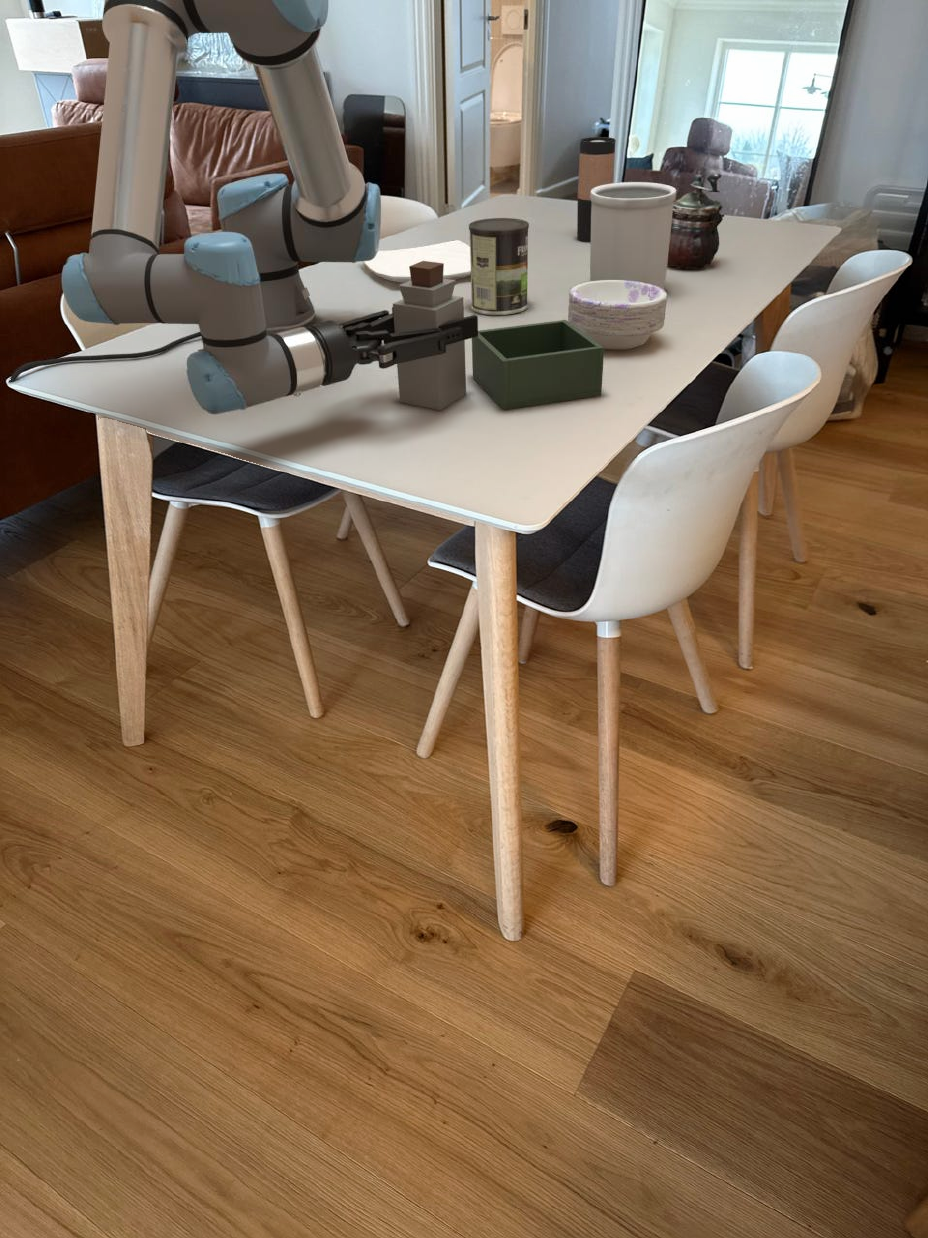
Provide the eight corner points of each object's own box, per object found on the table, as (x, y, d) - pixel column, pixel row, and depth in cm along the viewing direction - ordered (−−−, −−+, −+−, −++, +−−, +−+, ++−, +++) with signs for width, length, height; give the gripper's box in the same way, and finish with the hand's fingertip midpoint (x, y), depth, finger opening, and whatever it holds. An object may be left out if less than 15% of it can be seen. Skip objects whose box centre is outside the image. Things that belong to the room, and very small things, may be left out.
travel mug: (570, 236, 206) (574, 138, 195) (601, 233, 208) (606, 135, 196) (584, 243, 200) (588, 142, 189) (615, 240, 202) (622, 140, 190)
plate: (507, 277, 179) (507, 263, 178) (389, 293, 172) (388, 278, 171) (461, 251, 198) (461, 238, 196) (354, 264, 191) (352, 251, 189)
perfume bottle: (466, 394, 128) (462, 261, 118) (439, 410, 124) (433, 273, 113) (426, 386, 131) (419, 256, 121) (399, 401, 127) (390, 267, 116)
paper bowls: (676, 333, 147) (681, 283, 143) (641, 362, 137) (646, 309, 132) (590, 321, 154) (592, 273, 149) (551, 348, 143) (552, 296, 139)
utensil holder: (629, 308, 160) (637, 200, 150) (569, 291, 169) (573, 189, 159) (683, 291, 167) (694, 188, 157) (623, 276, 177) (629, 178, 167)
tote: (502, 410, 123) (502, 361, 119) (472, 377, 134) (471, 331, 130) (601, 395, 126) (604, 347, 122) (564, 364, 137) (565, 319, 133)
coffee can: (531, 299, 166) (532, 217, 158) (523, 316, 157) (524, 230, 149) (476, 298, 168) (474, 216, 159) (465, 314, 159) (463, 229, 151)
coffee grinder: (681, 279, 174) (692, 176, 164) (647, 261, 186) (655, 164, 176) (740, 272, 177) (754, 171, 167) (703, 255, 189) (714, 159, 178)
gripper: (279, 365, 122) (419, 330, 133) (357, 408, 109) (505, 364, 120) (271, 309, 117) (416, 277, 128) (351, 346, 104) (504, 306, 115)
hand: (458, 319), depth 124 cm, fingers closed on perfume bottle, 7 cm apart
